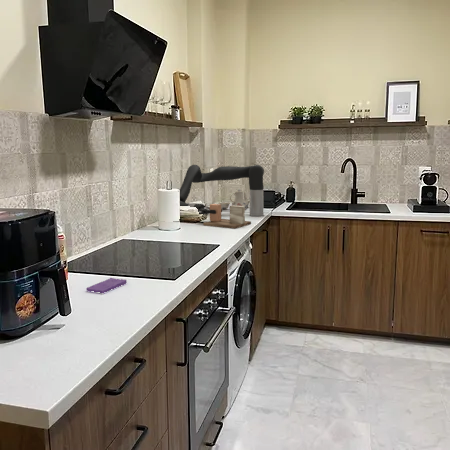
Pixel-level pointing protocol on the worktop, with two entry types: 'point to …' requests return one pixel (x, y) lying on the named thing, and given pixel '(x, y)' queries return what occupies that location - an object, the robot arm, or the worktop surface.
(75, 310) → the worktop surface
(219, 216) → the tan upright block
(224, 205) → the chinaware
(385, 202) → the worktop surface
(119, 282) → the sponges
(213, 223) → the ticket stand
